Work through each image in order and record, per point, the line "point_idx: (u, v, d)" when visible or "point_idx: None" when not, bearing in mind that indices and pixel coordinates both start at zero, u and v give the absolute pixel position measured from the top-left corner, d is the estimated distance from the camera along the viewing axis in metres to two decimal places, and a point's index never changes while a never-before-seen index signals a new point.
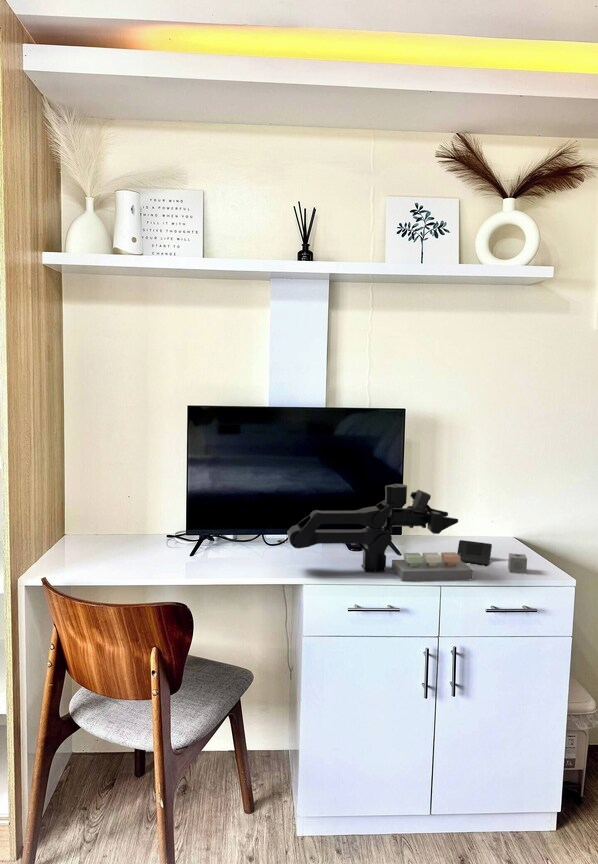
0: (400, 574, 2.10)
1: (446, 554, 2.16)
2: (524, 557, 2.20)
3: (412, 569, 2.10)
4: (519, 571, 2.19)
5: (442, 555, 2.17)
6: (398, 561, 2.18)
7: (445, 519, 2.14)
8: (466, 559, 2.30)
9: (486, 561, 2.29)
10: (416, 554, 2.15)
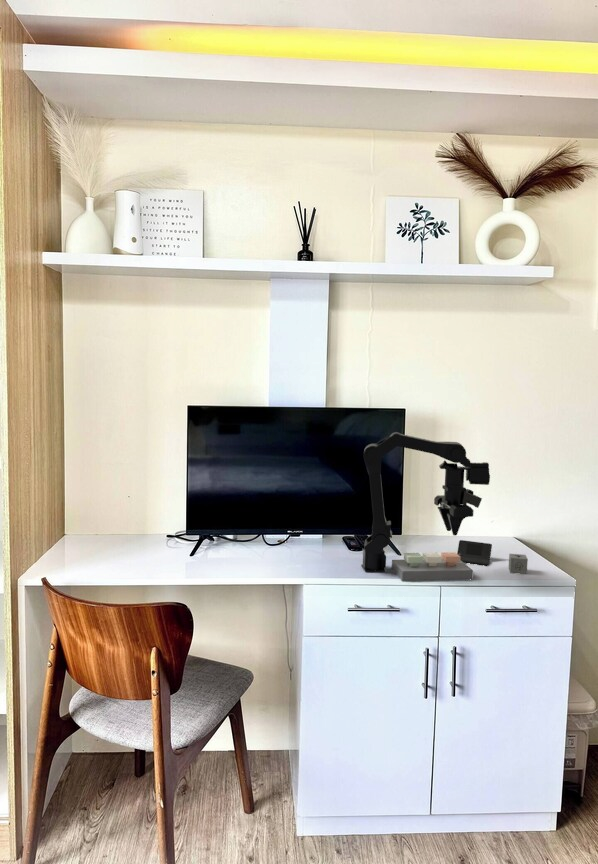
0: (400, 574, 2.10)
1: (446, 554, 2.16)
2: (524, 557, 2.19)
3: (412, 569, 2.10)
4: (519, 571, 2.19)
5: (442, 555, 2.17)
6: (398, 561, 2.18)
7: (459, 521, 2.11)
8: (466, 559, 2.30)
9: (486, 561, 2.29)
10: (416, 554, 2.15)
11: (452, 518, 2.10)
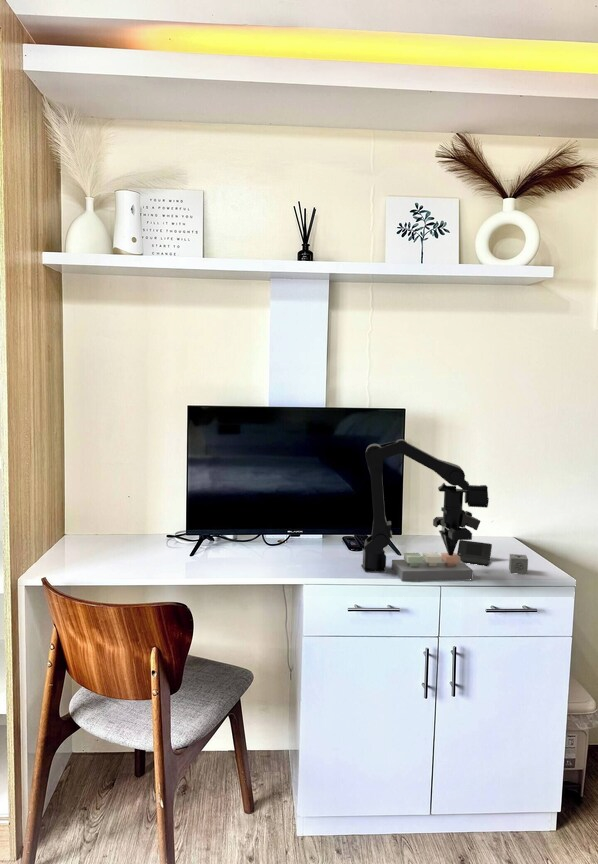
0: (400, 574, 2.10)
1: (446, 555, 2.16)
2: (525, 558, 2.19)
3: (412, 569, 2.10)
4: (520, 572, 2.18)
5: (442, 556, 2.17)
6: (398, 561, 2.18)
7: (455, 542, 2.14)
8: (466, 559, 2.30)
9: (486, 561, 2.29)
10: (416, 554, 2.15)
11: (448, 539, 2.13)
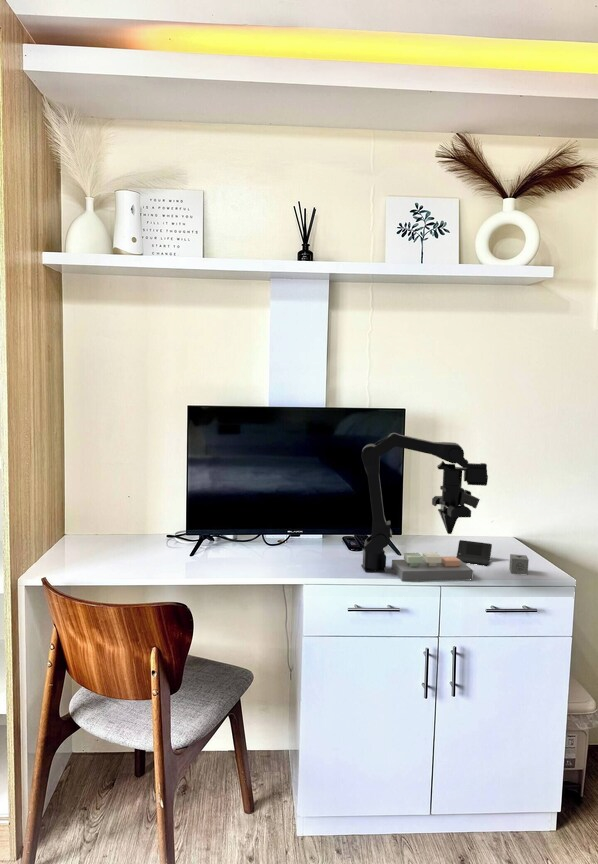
0: (400, 574, 2.10)
1: (446, 558, 2.16)
2: (525, 558, 2.19)
3: (412, 569, 2.10)
4: (520, 572, 2.18)
5: (442, 559, 2.17)
6: (398, 561, 2.18)
7: (454, 520, 2.13)
8: (466, 559, 2.30)
9: (486, 561, 2.29)
10: (416, 554, 2.15)
11: (447, 517, 2.12)
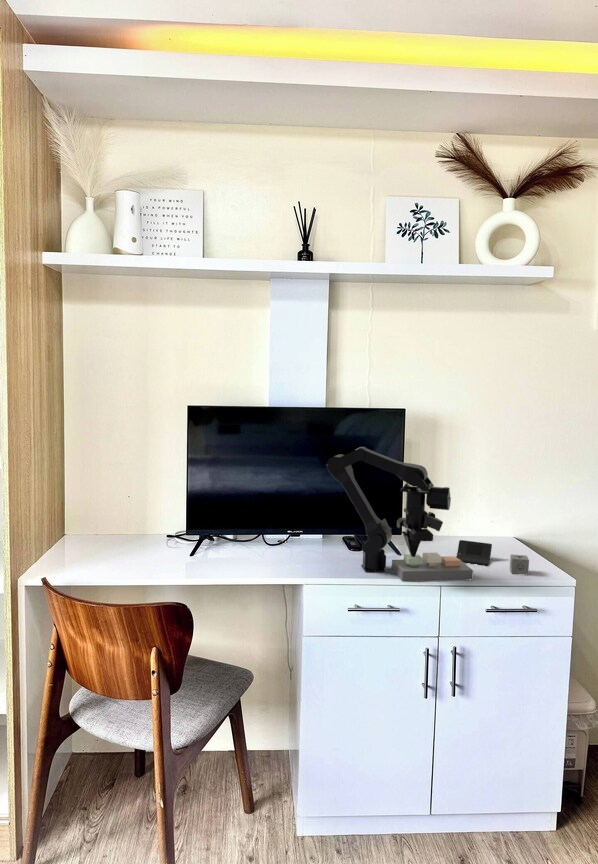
0: (400, 574, 2.10)
1: (446, 558, 2.16)
2: (526, 558, 2.18)
3: (412, 569, 2.10)
4: (521, 572, 2.18)
5: (442, 559, 2.17)
6: (398, 561, 2.18)
7: (417, 543, 2.12)
8: (466, 559, 2.30)
9: (486, 561, 2.29)
10: (416, 555, 2.15)
11: (410, 540, 2.12)
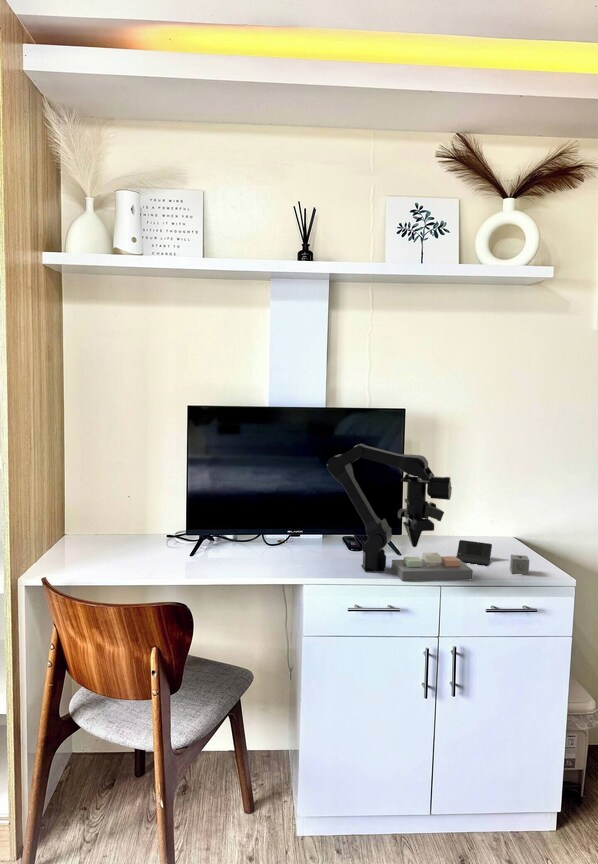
0: (400, 574, 2.10)
1: (446, 558, 2.16)
2: (526, 558, 2.18)
3: (412, 569, 2.10)
4: (521, 572, 2.17)
5: (442, 559, 2.17)
6: (398, 561, 2.18)
7: (418, 533, 2.12)
8: (466, 559, 2.30)
9: (486, 561, 2.29)
10: (416, 558, 2.15)
11: (411, 530, 2.11)
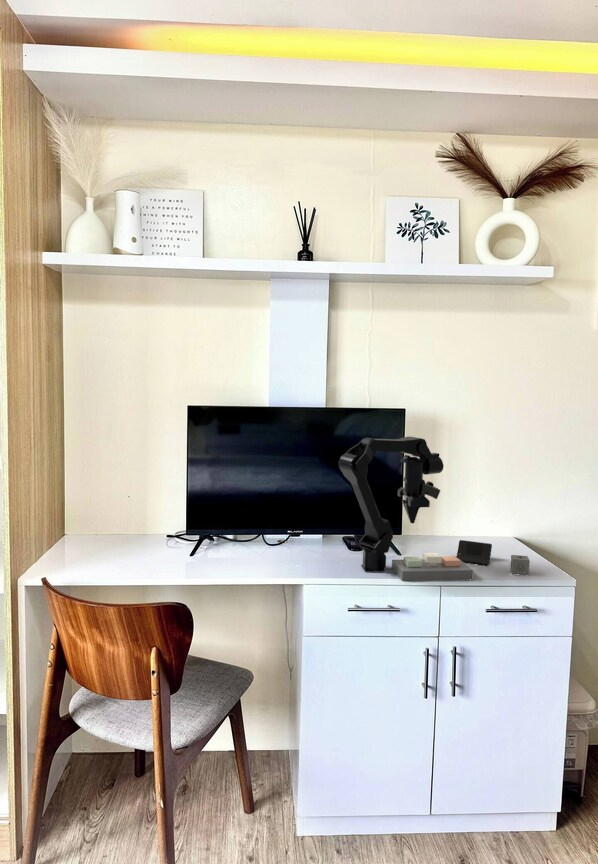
0: (400, 574, 2.10)
1: (446, 558, 2.16)
2: (526, 559, 2.18)
3: (412, 569, 2.10)
4: (521, 573, 2.17)
5: (442, 559, 2.17)
6: (398, 561, 2.18)
7: (416, 510, 2.24)
8: (466, 559, 2.30)
9: (486, 561, 2.29)
10: (416, 558, 2.15)
11: (409, 507, 2.23)
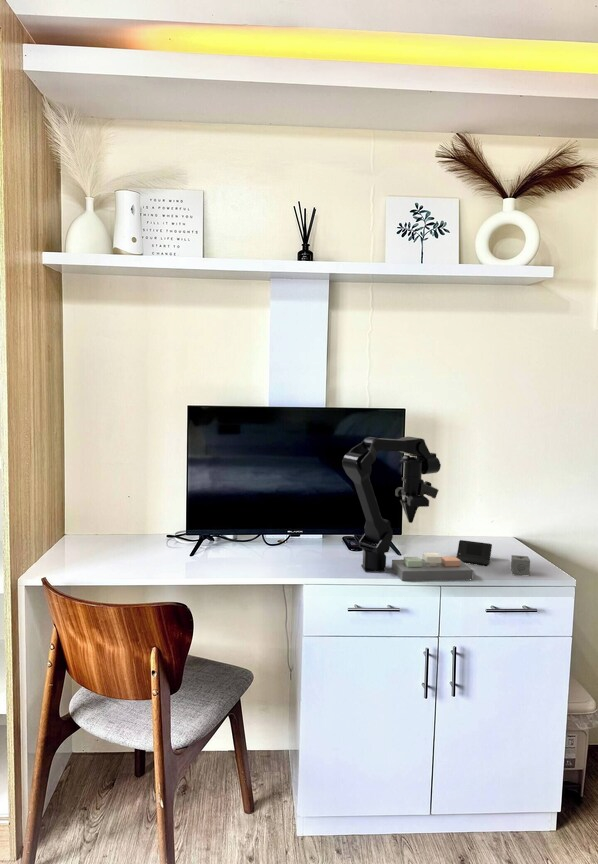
0: (400, 574, 2.10)
1: (446, 558, 2.16)
2: (527, 559, 2.18)
3: (412, 569, 2.10)
4: (522, 573, 2.17)
5: (442, 559, 2.17)
6: (398, 561, 2.18)
7: (414, 509, 2.26)
8: (466, 559, 2.30)
9: (486, 561, 2.29)
10: (416, 558, 2.15)
11: (407, 506, 2.25)
